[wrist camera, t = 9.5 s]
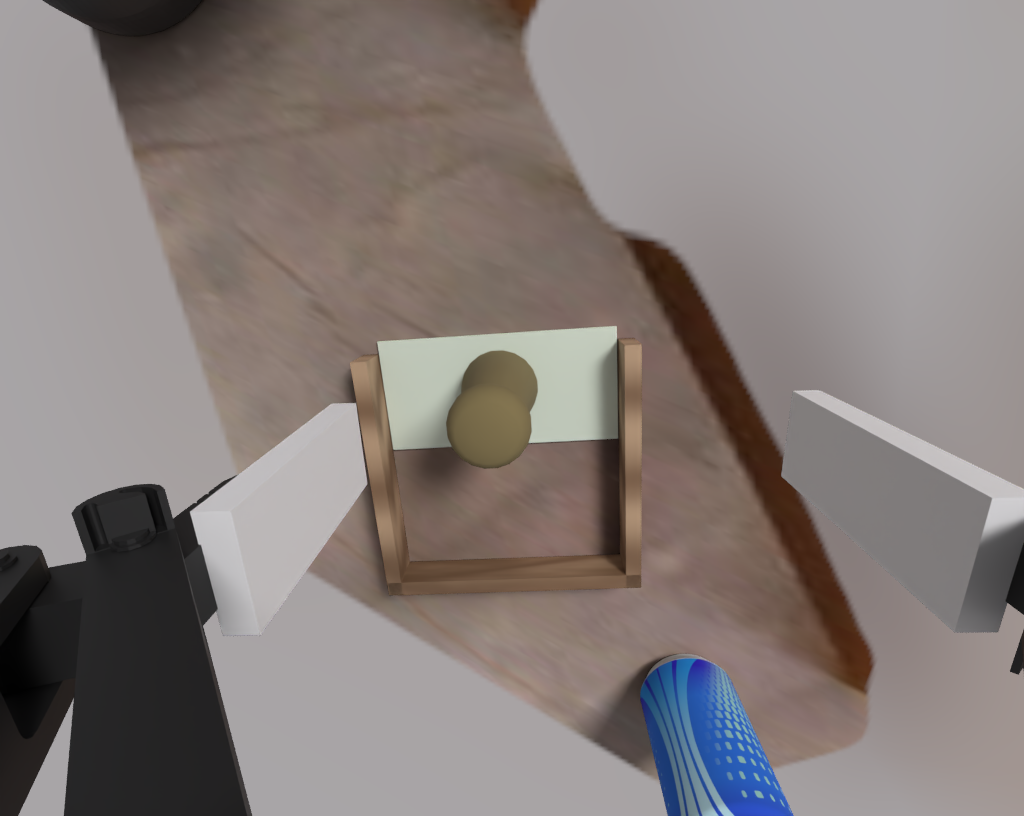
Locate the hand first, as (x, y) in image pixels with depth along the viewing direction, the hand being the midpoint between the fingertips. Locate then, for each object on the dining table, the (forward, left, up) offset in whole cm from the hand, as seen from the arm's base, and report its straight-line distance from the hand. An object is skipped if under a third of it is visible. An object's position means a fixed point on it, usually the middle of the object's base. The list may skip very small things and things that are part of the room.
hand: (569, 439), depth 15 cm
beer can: (+34, +11, -24) cm, 43 cm away
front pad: (+4, -4, -24) cm, 24 cm away
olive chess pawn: (+4, -4, -24) cm, 24 cm away
